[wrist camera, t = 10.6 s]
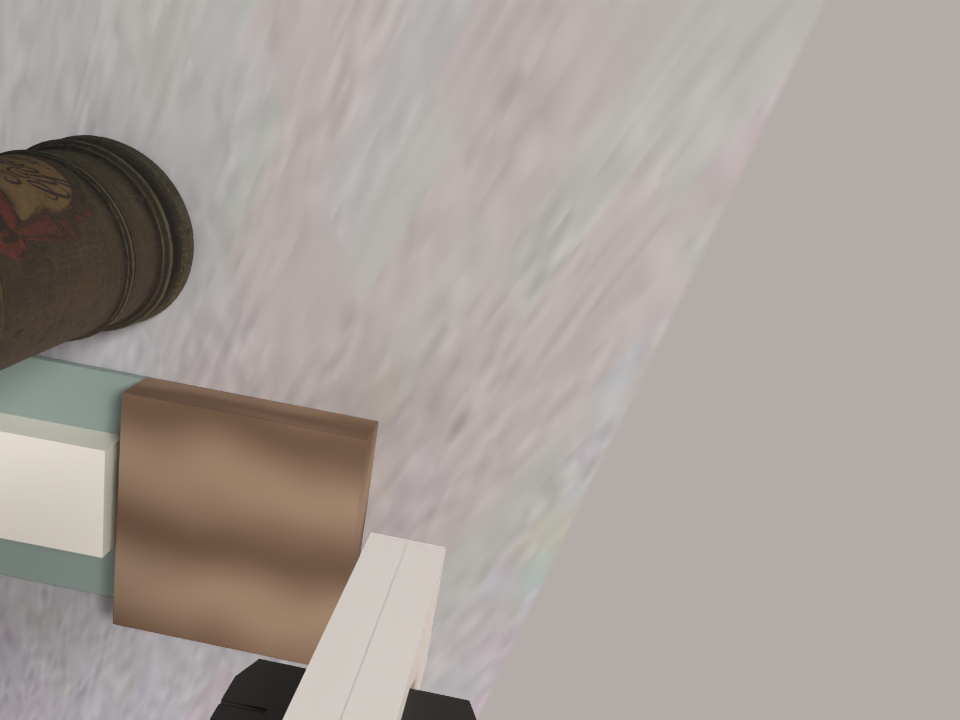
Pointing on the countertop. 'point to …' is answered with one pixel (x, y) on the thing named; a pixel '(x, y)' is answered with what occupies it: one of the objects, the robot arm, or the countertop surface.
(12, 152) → the container
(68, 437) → the block
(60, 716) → the countertop surface
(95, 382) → the mat
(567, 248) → the countertop surface
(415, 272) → the countertop surface
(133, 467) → the board
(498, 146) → the countertop surface
